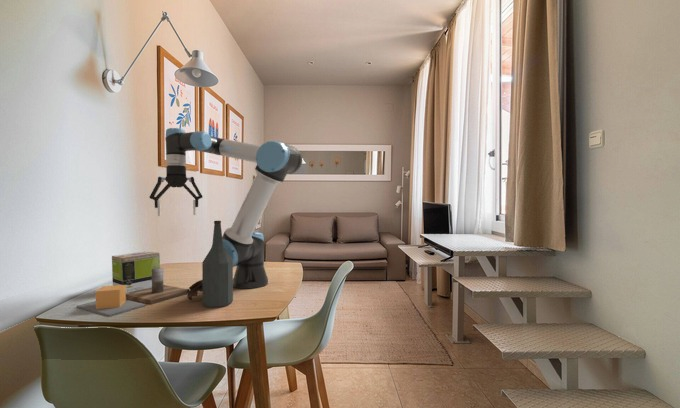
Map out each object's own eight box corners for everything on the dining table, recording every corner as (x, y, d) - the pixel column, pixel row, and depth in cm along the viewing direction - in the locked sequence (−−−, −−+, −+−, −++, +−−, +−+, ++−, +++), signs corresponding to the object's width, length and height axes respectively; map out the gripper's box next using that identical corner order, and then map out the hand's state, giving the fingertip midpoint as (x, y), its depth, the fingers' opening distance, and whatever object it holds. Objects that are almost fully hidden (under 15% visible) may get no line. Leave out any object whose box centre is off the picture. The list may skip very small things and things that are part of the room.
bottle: (223, 309, 116) (222, 221, 115) (197, 307, 118) (196, 221, 117) (237, 300, 126) (237, 219, 125) (213, 298, 128) (213, 219, 127)
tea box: (149, 283, 152) (149, 250, 151) (161, 286, 146) (160, 252, 146) (111, 290, 139) (111, 254, 139) (122, 294, 134) (121, 257, 133)
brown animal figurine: (213, 304, 123) (201, 286, 121) (191, 314, 124) (178, 297, 122) (223, 287, 134) (212, 270, 132) (203, 297, 135) (191, 280, 133)
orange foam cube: (125, 301, 123) (125, 284, 123) (119, 307, 116) (119, 289, 116) (103, 302, 121) (103, 286, 121) (95, 309, 114) (95, 291, 114)
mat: (145, 306, 119) (145, 304, 119) (109, 316, 109) (109, 314, 109) (112, 298, 128) (112, 296, 128) (76, 307, 118) (76, 305, 118)
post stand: (189, 293, 135) (189, 267, 135) (151, 304, 121) (150, 275, 121) (163, 288, 143) (163, 263, 142) (124, 298, 128) (124, 270, 128)
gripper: (140, 163, 136) (142, 216, 136) (207, 165, 145) (208, 214, 145) (144, 165, 143) (145, 216, 143) (207, 166, 152) (208, 214, 152)
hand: (177, 215), depth 144 cm, fingers open, 13 cm apart
